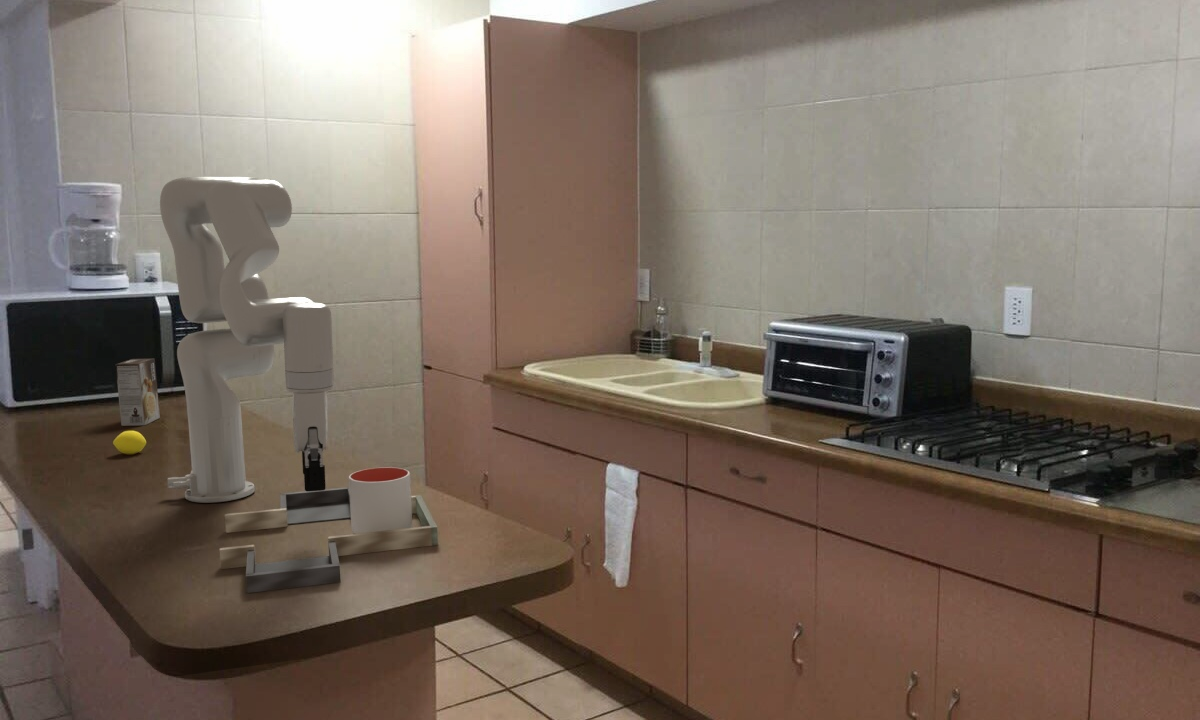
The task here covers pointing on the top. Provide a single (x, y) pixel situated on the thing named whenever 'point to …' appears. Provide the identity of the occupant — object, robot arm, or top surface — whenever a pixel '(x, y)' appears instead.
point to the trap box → (328, 568)
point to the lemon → (130, 442)
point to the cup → (380, 499)
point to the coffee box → (137, 392)
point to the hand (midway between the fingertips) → (314, 481)
